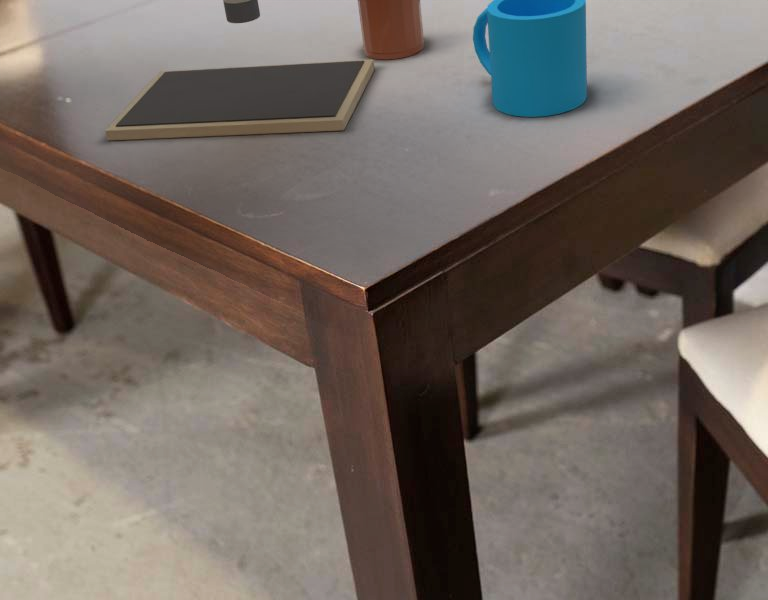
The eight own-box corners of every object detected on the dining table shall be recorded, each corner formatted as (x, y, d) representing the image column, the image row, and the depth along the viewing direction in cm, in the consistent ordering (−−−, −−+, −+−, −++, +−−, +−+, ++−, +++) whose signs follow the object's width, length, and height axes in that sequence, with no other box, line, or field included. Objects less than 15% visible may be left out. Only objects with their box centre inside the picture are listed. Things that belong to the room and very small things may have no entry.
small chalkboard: (107, 140, 100) (104, 128, 99) (162, 80, 112) (159, 69, 111) (344, 130, 95) (342, 117, 95) (375, 69, 107) (373, 57, 107)
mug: (607, 94, 95) (607, -2, 90) (539, 124, 91) (535, 26, 87) (511, 67, 103) (506, -23, 99) (444, 93, 100) (436, 2, 95)
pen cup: (359, 61, 110) (348, -22, 105) (370, 41, 114) (360, -39, 110) (419, 57, 108) (411, -26, 104) (427, 37, 113) (420, -43, 109)
